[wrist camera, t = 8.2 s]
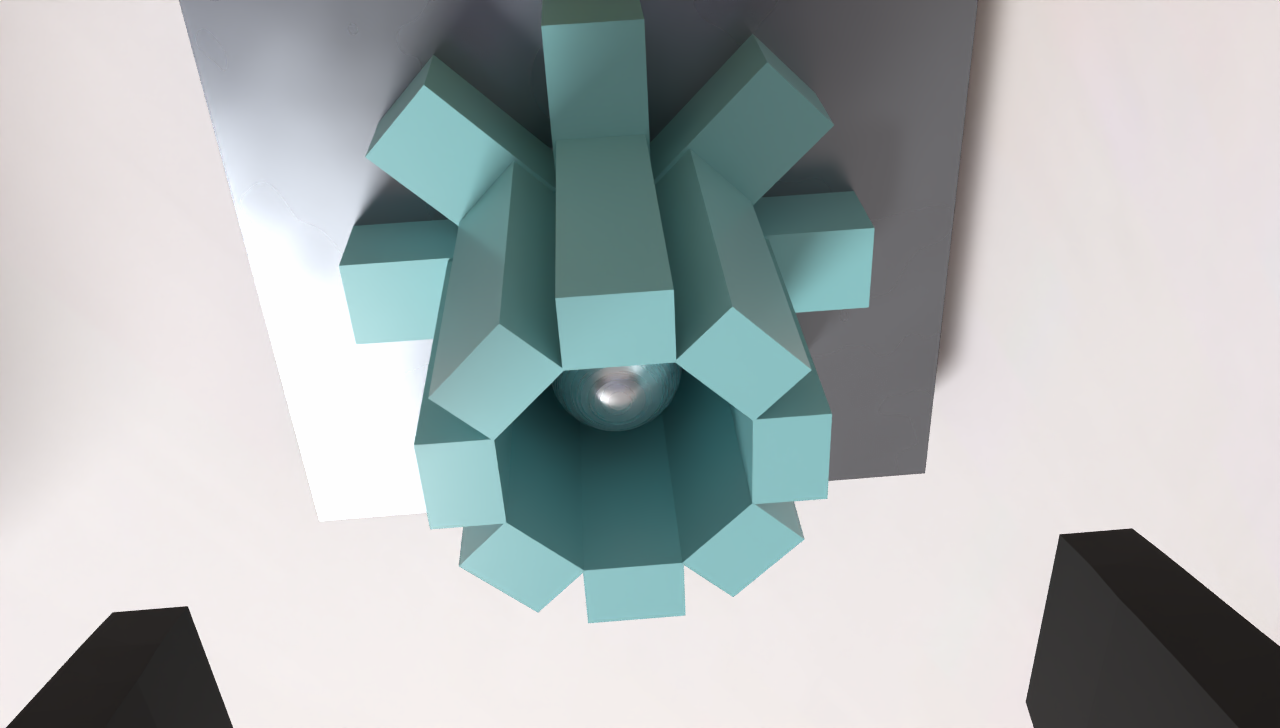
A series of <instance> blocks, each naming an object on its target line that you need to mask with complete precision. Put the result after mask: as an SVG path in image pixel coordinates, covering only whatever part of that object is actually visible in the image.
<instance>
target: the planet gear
mask: <svg viewBox="0 0 1280 728" xmlns="http://www.w3.org/2000/svg"><path fill="white" fill-rule="evenodd" d="M541 29H542V40H543V51H544V61H545V72H546V82H547V93H548V103H549V114H550V124H551V135H552V145H553V150H551V149H550V148H549V147H548V146H546V145H545V144H544V143H543V142H541V141H540V140H539V139H538V138H536V137H535V136H534V135H533V134H531V133H530V132H529V131H528V130H527V129H525V128H524V127H523V126H522V125H520V124H519V123H518V122H517V121H515V120H514V119H513V118H512V117H510V116H509V115H508V114H507V113H505V112H504V111H503V110H502V109H500V108H499V107H498V106H497V105H495V104H494V103H493V102H492V101H491V100H489V99H488V98H487V97H486V96H484V95H483V94H482V93H481V92H479V91H478V90H477V89H476V88H474V87H473V86H472V85H471V84H469V83H468V82H467V81H466V80H464V79H463V78H462V77H461V76H459V75H458V74H457V73H456V72H455V71H453V70H452V69H451V68H450V67H448V66H447V65H446V64H445V63H443V62H442V61H441V60H440V59H438V58H437V57H436V56H435V55H433V56H432V57H431V58H430V60H429V61H428V62H427V63H426V64H425V66H424V67H423V68H422V69H421V71H420V72H419V73H418V74H417V76H416V77H415V78H414V79H413V81H412V82H411V83H410V84H409V86H408V87H407V88H406V89H405V90H404V92H403V93H402V94H401V95H400V97H399V98H398V99H397V100H396V102H395V103H394V104H393V105H392V107H391V108H390V109H389V110H388V112H387V113H386V114H385V115H384V117H383V118H382V119H381V120H380V121H379V123H378V125H377V128H376V130H375V133H374V136H373V138H372V141H371V143H370V146H369V148H368V151H367V153H366V156H365V157H366V158H367V159H368V160H370V161H371V162H372V163H374V164H375V165H376V166H378V167H379V168H380V169H382V170H383V171H385V172H386V173H387V174H389V175H390V176H391V177H393V178H394V179H395V180H397V181H398V182H399V183H401V184H402V185H404V186H405V187H406V188H408V189H409V190H410V191H412V192H413V193H414V194H416V195H417V196H418V197H420V198H421V199H423V200H424V201H425V202H427V203H428V204H429V205H431V206H432V207H433V208H435V209H436V210H437V211H439V212H440V213H441V214H443V215H444V216H446V217H447V218H448V219H446V220H432V221H417V222H403V223H389V224H374V225H360V226H353V228H352V231H351V234H350V236H349V239H348V242H347V245H346V247H345V250H344V253H343V256H342V258H341V261H340V264H339V269H340V274H341V278H342V283H343V287H344V292H345V296H346V301H347V306H348V310H349V315H350V319H351V324H352V329H353V333H354V338H355V342H356V345H358V344H372V343H386V342H400V341H413V340H427V339H433V343H432V349H431V354H430V360H429V365H428V370H427V376H426V381H425V387H424V392H423V398H422V403H421V408H420V414H419V419H418V425H417V430H416V435H415V441H414V450H415V455H416V460H417V465H418V470H419V475H420V480H421V485H422V490H423V495H424V500H425V505H426V510H427V516H428V521H429V526H430V529H441V528H454V527H463V533H462V542H461V551H460V560H459V567H461V568H463V569H464V570H466V571H468V572H470V573H471V574H473V575H475V576H476V577H478V578H480V579H481V580H483V581H485V582H487V583H488V584H490V585H492V586H493V587H495V588H497V589H499V590H500V591H502V592H504V593H505V594H507V595H509V596H511V597H512V598H514V599H516V600H517V601H519V602H521V603H523V604H524V605H526V606H528V607H529V608H531V609H533V610H535V611H536V612H539V611H540V610H541V609H543V608H544V607H545V606H546V605H547V604H548V603H549V602H551V601H552V600H553V599H554V598H555V597H556V596H557V595H558V594H560V593H561V592H562V591H563V590H564V589H565V588H566V587H567V586H569V585H570V584H571V583H572V582H573V581H574V580H575V579H576V578H578V577H579V576H580V575H581V574H582V573H583V576H584V585H585V595H586V605H587V615H588V623H596V622H609V621H621V620H634V619H647V618H659V617H672V616H684V615H685V591H684V565H685V566H686V567H688V568H689V569H691V570H693V571H694V572H696V573H697V574H699V575H700V576H702V577H703V578H705V579H706V580H708V581H709V582H711V583H713V584H714V585H716V586H717V587H719V588H720V589H722V590H723V591H725V592H726V593H728V594H729V595H731V596H732V597H734V596H735V595H736V594H738V593H739V592H740V591H741V590H743V589H744V588H745V587H746V586H748V585H749V584H750V583H751V582H752V581H754V580H755V579H756V578H757V577H759V576H760V575H761V574H762V573H763V572H765V571H766V570H767V569H768V568H770V567H771V566H772V565H773V564H775V563H776V562H777V561H778V560H779V559H781V558H782V557H783V556H784V555H786V554H787V553H788V552H789V551H791V550H792V549H793V548H794V547H795V546H797V545H798V544H799V543H800V542H802V541H803V540H804V536H803V532H802V529H801V525H800V522H799V518H798V515H797V511H796V507H795V504H794V501H803V500H816V499H827V495H828V477H829V459H830V442H831V424H832V412H831V410H830V407H829V404H828V401H827V399H826V396H825V393H824V390H823V388H822V385H821V382H820V379H819V377H818V374H817V371H816V368H815V365H814V363H813V360H812V357H811V354H810V352H809V349H808V346H807V343H806V341H805V338H804V335H803V332H802V330H801V327H800V324H799V321H798V319H797V316H796V313H799V312H812V311H826V310H840V309H854V308H867V307H869V297H870V284H871V270H872V256H873V243H874V229H875V228H874V226H873V224H872V222H871V221H870V219H869V217H868V215H867V213H866V212H865V210H864V208H863V206H862V204H861V203H860V201H859V199H858V197H857V195H856V194H855V192H854V191H847V192H833V193H818V194H804V195H790V196H775V197H762V196H763V195H764V194H765V193H766V192H767V191H768V190H769V189H770V188H771V187H772V186H773V185H774V184H775V183H776V182H777V181H778V180H779V179H780V178H781V177H782V176H783V175H784V174H785V173H786V172H787V171H788V170H789V169H790V168H791V167H792V166H793V165H794V164H795V163H796V162H798V161H799V160H800V159H801V158H802V157H803V156H804V155H805V154H806V153H807V152H808V151H809V150H810V149H811V148H812V147H813V146H814V145H815V144H816V143H817V142H818V141H819V140H820V139H821V138H822V137H823V136H824V135H825V134H826V133H827V132H828V131H829V130H830V129H831V128H832V127H833V126H834V124H833V122H832V120H831V119H830V117H829V115H828V114H827V112H826V110H825V109H824V107H823V105H822V104H821V102H820V100H819V98H818V97H817V95H816V93H815V92H814V91H812V90H811V89H810V88H809V87H808V86H807V85H806V84H805V83H804V82H803V81H802V80H801V79H800V78H799V77H798V76H797V75H796V74H795V73H794V72H792V71H791V70H790V69H789V68H788V67H787V66H786V65H785V64H784V63H783V62H782V61H781V60H780V59H779V58H778V57H777V56H776V55H775V54H774V53H772V52H771V51H770V50H769V49H768V48H767V47H766V46H765V45H764V44H763V43H762V42H761V41H760V40H759V39H758V38H757V37H756V36H755V35H753V34H752V35H751V36H750V37H749V38H748V39H747V40H746V41H745V42H744V43H743V44H742V45H741V46H740V47H739V49H738V50H737V51H736V52H735V53H734V54H733V55H732V56H731V57H730V58H729V59H728V60H727V61H726V62H725V63H724V65H723V66H722V67H721V68H720V69H719V70H718V71H717V72H716V73H715V74H714V75H713V76H712V77H711V78H710V79H709V81H708V82H707V83H706V84H705V85H704V86H703V87H702V88H701V89H700V90H699V91H698V92H697V93H696V94H695V95H694V97H693V98H692V99H691V100H690V101H689V102H688V103H687V104H686V105H685V106H684V107H683V108H682V109H681V110H680V111H679V112H678V114H677V115H676V116H675V117H674V118H673V119H672V120H671V121H670V122H669V123H668V124H667V125H666V126H665V127H664V128H663V130H662V131H661V132H660V133H659V134H658V135H657V136H656V137H655V138H654V139H653V140H652V141H651V142H650V137H649V114H648V92H647V70H646V48H645V26H644V16H643V12H642V8H641V4H640V0H542V19H541ZM661 363H677V364H678V365H679V366H681V367H682V371H681V377H680V382H679V386H678V388H677V391H676V393H675V395H674V397H673V399H672V401H671V402H670V403H669V405H668V406H667V407H666V408H665V410H664V411H663V412H662V413H661V414H660V415H659V416H657V417H656V418H655V419H654V420H652V421H650V422H649V423H647V424H645V425H643V426H641V427H638V428H635V429H632V430H628V431H621V432H611V431H603V430H598V429H595V428H592V427H589V426H587V425H585V424H583V423H581V422H580V421H578V420H577V419H575V418H574V417H573V416H572V415H570V414H569V413H568V412H567V411H566V410H565V409H564V407H563V406H562V405H561V403H560V402H559V400H558V399H557V397H556V395H555V393H554V391H553V388H552V385H551V383H552V382H553V381H554V380H555V379H556V378H557V377H558V376H559V375H560V374H561V373H562V372H563V371H566V370H580V369H593V368H607V367H620V366H634V365H647V364H661Z"/></svg>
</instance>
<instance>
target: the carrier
mask: <svg viewBox="0 0 1280 728" xmlns="http://www.w3.org/2000/svg"><path fill="white" fill-rule="evenodd" d="M179 2H180V6H181V10H182V13H183V17H184V21H185V25H186V28H187V32H188V36H189V39H190V43H191V47H192V50H193V54H194V58H195V62H196V65H197V69H198V73H199V76H200V80H201V84H202V87H203V91H204V95H205V99H206V102H207V106H208V110H209V113H210V117H211V121H212V125H213V128H214V132H215V136H216V139H217V143H218V147H219V150H220V154H221V158H222V162H223V165H224V169H225V173H226V176H227V180H228V184H229V187H230V191H231V195H232V199H233V202H234V206H235V210H236V213H237V217H238V221H239V225H240V228H241V232H242V236H243V239H244V243H245V247H246V250H247V254H248V258H249V262H250V265H251V269H252V273H253V276H254V280H255V284H256V287H257V291H258V295H259V299H260V302H261V306H262V310H263V313H264V317H265V321H266V325H267V328H268V332H269V336H270V339H271V343H272V347H273V350H274V354H275V358H276V362H277V365H278V369H279V373H280V376H281V380H282V384H283V387H284V391H285V395H286V399H287V402H288V406H289V410H290V413H291V417H292V421H293V424H294V428H295V432H296V436H297V439H298V443H299V447H300V450H301V454H302V458H303V462H304V465H305V469H306V473H307V476H308V480H309V484H310V487H311V491H312V495H313V499H314V502H315V506H316V510H317V513H318V517H319V521H327V520H339V519H352V518H365V517H377V516H390V515H403V514H415V513H427V510H426V505H425V500H424V495H423V490H422V485H421V480H420V475H419V470H418V465H417V460H416V455H415V450H414V441H415V435H416V430H417V425H418V419H419V414H420V408H421V403H422V398H423V392H424V387H425V381H426V376H427V370H428V365H429V360H430V354H431V349H432V343H433V339H427V340H413V341H400V342H386V343H372V344H358V345H356V342H355V338H354V333H353V329H352V324H351V319H350V315H349V310H348V306H347V301H346V296H345V292H344V287H343V283H342V278H341V274H340V269H339V264H340V261H341V258H342V256H343V253H344V250H345V247H346V245H347V242H348V239H349V236H350V234H351V231H352V228H353V226H360V225H374V224H389V223H403V222H417V221H432V220H446V219H448V218H447V217H446V216H444V215H443V214H441V213H440V212H439V211H437V210H436V209H435V208H433V207H432V206H431V205H429V204H428V203H427V202H425V201H424V200H423V199H421V198H420V197H418V196H417V195H416V194H414V193H413V192H412V191H410V190H409V189H408V188H406V187H405V186H404V185H402V184H401V183H399V182H398V181H397V180H395V179H394V178H393V177H391V176H390V175H389V174H387V173H386V172H385V171H383V170H382V169H380V168H379V167H378V166H376V165H375V164H374V163H372V162H371V161H370V160H368V159H367V158H366V157H365V156H366V153H367V151H368V148H369V146H370V143H371V141H372V138H373V136H374V133H375V130H376V128H377V125H378V123H379V121H380V120H381V119H382V118H383V117H384V115H385V114H386V113H387V112H388V110H389V109H390V108H391V107H392V105H393V104H394V103H395V102H396V100H397V99H398V98H399V97H400V95H401V94H402V93H403V92H404V90H405V89H406V88H407V87H408V86H409V84H410V83H411V82H412V81H413V79H414V78H415V77H416V76H417V74H418V73H419V72H420V71H421V69H422V68H423V67H424V66H425V64H426V63H427V62H428V61H429V60H430V58H431V57H432V56H433V55H435V56H436V57H437V58H438V59H440V60H441V61H442V62H443V63H445V64H446V65H447V66H448V67H450V68H451V69H452V70H453V71H455V72H456V73H457V74H458V75H459V76H461V77H462V78H463V79H464V80H466V81H467V82H468V83H469V84H471V85H472V86H473V87H474V88H476V89H477V90H478V91H479V92H481V93H482V94H483V95H484V96H486V97H487V98H488V99H489V100H491V101H492V102H493V103H494V104H495V105H497V106H498V107H499V108H500V109H502V110H503V111H504V112H505V113H507V114H508V115H509V116H510V117H512V118H513V119H514V120H515V121H517V122H518V123H519V124H520V125H522V126H523V127H524V128H525V129H527V130H528V131H529V132H530V133H531V134H533V135H534V136H535V137H536V138H538V139H539V140H540V141H541V142H543V143H544V144H545V145H546V146H548V147H549V148H550V149H551V150H553V145H552V135H551V124H550V114H549V103H548V93H547V82H546V72H545V61H544V51H543V40H542V29H541V19H542V0H179ZM640 4H641V8H642V12H643V16H644V26H645V48H646V70H647V92H648V114H649V137H650V142H651V141H652V140H653V139H654V138H655V137H656V136H657V135H658V134H659V133H660V132H661V131H662V130H663V128H664V127H665V126H666V125H667V124H668V123H669V122H670V121H671V120H672V119H673V118H674V117H675V116H676V115H677V114H678V112H679V111H680V110H681V109H682V108H683V107H684V106H685V105H686V104H687V103H688V102H689V101H690V100H691V99H692V98H693V97H694V95H695V94H696V93H697V92H698V91H699V90H700V89H701V88H702V87H703V86H704V85H705V84H706V83H707V82H708V81H709V79H710V78H711V77H712V76H713V75H714V74H715V73H716V72H717V71H718V70H719V69H720V68H721V67H722V66H723V65H724V63H725V62H726V61H727V60H728V59H729V58H730V57H731V56H732V55H733V54H734V53H735V52H736V51H737V50H738V49H739V47H740V46H741V45H742V44H743V43H744V42H745V41H746V40H747V39H748V38H749V37H750V36H751V35H752V34H753V35H755V36H756V37H757V38H758V39H759V40H760V41H761V42H762V43H763V44H764V45H765V46H766V47H767V48H768V49H769V50H770V51H771V52H772V53H774V54H775V55H776V56H777V57H778V58H779V59H780V60H781V61H782V62H783V63H784V64H785V65H786V66H787V67H788V68H789V69H790V70H791V71H792V72H794V73H795V74H796V75H797V76H798V77H799V78H800V79H801V80H802V81H803V82H804V83H805V84H806V85H807V86H808V87H809V88H810V89H811V90H812V91H814V92H815V93H816V95H817V97H818V98H819V100H820V102H821V104H822V105H823V107H824V109H825V110H826V112H827V114H828V115H829V117H830V119H831V120H832V122H833V124H834V126H833V127H832V128H831V129H830V130H829V131H828V132H827V133H826V134H825V135H824V136H823V137H822V138H821V139H820V140H819V141H818V142H817V143H816V144H815V145H814V146H813V147H812V148H811V149H810V150H809V151H808V152H807V153H806V154H805V155H804V156H803V157H802V158H801V159H800V160H799V161H798V162H796V163H795V164H794V165H793V166H792V167H791V168H790V169H789V170H788V171H787V172H786V173H785V174H784V175H783V176H782V177H781V178H780V179H779V180H778V181H777V182H776V183H775V184H774V185H773V186H772V187H771V188H770V189H769V190H768V191H767V192H766V193H765V194H764V195H763V196H762V197H775V196H790V195H804V194H818V193H833V192H847V191H854V192H855V194H856V195H857V197H858V199H859V201H860V203H861V204H862V206H863V208H864V210H865V212H866V213H867V215H868V217H869V219H870V221H871V222H872V224H873V226H874V228H875V229H874V243H873V256H872V270H871V284H870V297H869V307H867V308H854V309H840V310H826V311H812V312H799V313H796V316H797V319H798V321H799V324H800V327H801V330H802V332H803V335H804V338H805V341H806V343H807V346H808V349H809V352H810V354H811V357H812V360H813V363H814V365H815V368H816V371H817V374H818V377H819V379H820V382H821V385H822V388H823V390H824V393H825V396H826V399H827V401H828V404H829V407H830V410H831V412H832V424H831V442H830V459H829V477H828V481H833V480H845V479H858V478H870V477H883V476H896V475H908V474H921V473H925V468H926V459H927V450H928V441H929V432H930V424H931V415H932V406H933V397H934V388H935V379H936V370H937V361H938V352H939V343H940V334H941V326H942V317H943V308H944V299H945V290H946V281H947V272H948V263H949V254H950V245H951V236H952V227H953V219H954V210H955V201H956V192H957V183H958V174H959V165H960V156H961V147H962V138H963V129H964V120H965V112H966V103H967V94H968V85H969V76H970V67H971V58H972V49H973V40H974V31H975V22H976V14H977V5H978V0H640ZM681 371H682V367H681V366H679V365H678V364H677V363H661V364H647V365H634V366H620V367H607V368H593V369H580V370H566V371H563V372H562V373H561V374H560V375H559V376H558V377H557V378H556V379H555V380H554V381H553V382H552V383H551V385H552V388H553V391H554V393H555V395H556V397H557V399H558V400H559V402H560V403H561V405H562V406H563V407H564V409H565V410H566V411H567V412H568V413H569V414H570V415H572V416H573V417H574V418H575V419H577V420H578V421H580V422H581V423H583V424H585V425H587V426H589V427H592V428H595V429H598V430H603V431H611V432H621V431H628V430H632V429H635V428H638V427H641V426H643V425H645V424H647V423H649V422H650V421H652V420H654V419H655V418H656V417H657V416H659V415H660V414H661V413H662V412H663V411H664V410H665V408H666V407H667V406H668V405H669V403H670V402H671V401H672V399H673V397H674V395H675V393H676V391H677V388H678V386H679V382H680V377H681Z"/></svg>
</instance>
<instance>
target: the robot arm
mask: <svg viewBox="0 0 1280 728" xmlns="http://www.w3.org/2000/svg"><path fill="white" fill-rule="evenodd" d="M1026 704H1027V707H1028V711H1029V714H1030V717H1031V720H1032V723H1033V726H1034V728H1280V646H1279V645H1277V644H1276V643H1275V642H1274V641H1272V640H1271V639H1270V638H1269V637H1267V636H1266V635H1265V634H1264V633H1262V632H1261V631H1260V630H1259V629H1257V628H1256V627H1255V626H1254V625H1252V624H1251V623H1250V622H1249V621H1247V620H1246V619H1245V618H1244V617H1242V616H1241V615H1240V614H1239V613H1237V612H1236V611H1235V610H1234V609H1232V608H1231V607H1230V606H1229V605H1228V604H1226V603H1225V602H1224V601H1223V600H1221V599H1220V598H1219V597H1218V596H1216V595H1215V594H1214V593H1213V592H1211V591H1210V590H1209V589H1208V588H1207V587H1205V586H1204V585H1203V584H1202V583H1200V582H1199V581H1198V580H1197V579H1195V578H1194V577H1193V576H1192V575H1190V574H1189V573H1188V572H1187V571H1186V570H1184V569H1183V568H1182V567H1181V566H1179V565H1178V564H1177V563H1176V562H1174V561H1173V560H1172V559H1171V558H1169V557H1168V556H1167V555H1166V554H1164V553H1163V552H1162V551H1160V550H1159V549H1158V548H1157V547H1155V546H1154V545H1153V544H1152V543H1150V542H1149V541H1148V540H1146V539H1145V538H1144V537H1142V536H1141V535H1140V534H1139V533H1137V532H1136V531H1135V530H1133V529H1120V530H1108V531H1096V532H1084V533H1072V534H1060V536H1059V540H1058V545H1057V550H1056V555H1055V560H1054V565H1053V570H1052V575H1051V580H1050V585H1049V590H1048V595H1047V600H1046V605H1045V610H1044V614H1043V619H1042V624H1041V629H1040V634H1039V639H1038V644H1037V649H1036V654H1035V659H1034V664H1033V669H1032V674H1031V679H1030V684H1029V689H1028V693H1027V698H1026ZM6 728H233V726H232V724H231V721H230V718H229V716H228V713H227V710H226V708H225V705H224V702H223V700H222V697H221V694H220V692H219V689H218V686H217V683H216V681H215V678H214V675H213V673H212V670H211V667H210V665H209V662H208V659H207V657H206V654H205V651H204V649H203V646H202V643H201V641H200V638H199V635H198V633H197V630H196V627H195V625H194V622H193V619H192V617H191V614H190V611H189V609H188V606H185V607H173V608H161V609H149V610H137V611H125V612H113V613H112V614H111V615H110V616H109V617H108V618H107V619H106V620H105V621H104V622H103V623H102V624H101V625H100V626H99V627H98V628H97V629H96V630H95V631H94V632H93V634H92V635H91V636H90V637H89V638H88V639H87V640H86V641H85V642H84V643H83V644H82V645H81V646H80V647H79V649H78V650H77V651H76V652H75V653H74V654H73V655H72V656H71V657H70V658H69V659H68V661H67V662H66V663H65V664H64V665H63V666H62V667H61V668H60V669H59V670H58V671H57V673H56V674H55V675H54V676H53V677H52V678H51V679H50V680H49V681H48V682H47V683H46V685H45V686H44V687H43V688H42V689H41V690H40V691H39V692H38V693H37V694H36V695H35V697H34V698H33V699H32V700H31V701H30V702H29V703H28V704H27V705H26V706H25V707H24V709H23V710H22V711H21V712H20V713H19V714H18V715H17V716H16V717H15V718H14V719H13V721H12V722H11V723H10V724H9V725H8V726H7V727H6Z"/></svg>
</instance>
